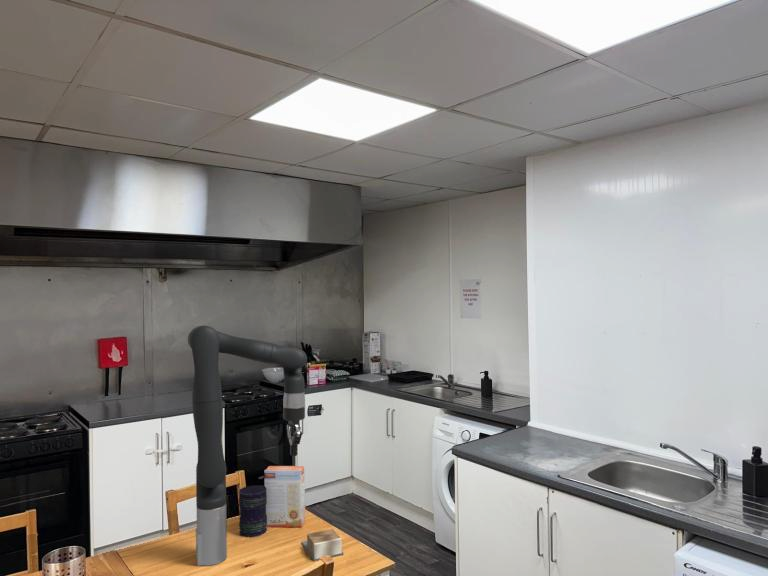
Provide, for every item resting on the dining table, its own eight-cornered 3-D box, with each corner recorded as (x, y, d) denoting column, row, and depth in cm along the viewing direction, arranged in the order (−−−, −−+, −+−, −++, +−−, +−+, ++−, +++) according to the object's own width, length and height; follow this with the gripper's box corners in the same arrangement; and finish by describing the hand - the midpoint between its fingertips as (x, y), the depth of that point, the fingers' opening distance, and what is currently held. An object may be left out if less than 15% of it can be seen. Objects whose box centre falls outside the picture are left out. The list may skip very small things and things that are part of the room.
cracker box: (305, 521, 196) (305, 465, 197) (301, 528, 190) (300, 470, 191) (269, 520, 197) (269, 464, 198) (264, 527, 191) (263, 469, 192)
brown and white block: (307, 547, 173) (315, 559, 165) (307, 533, 173) (314, 544, 165) (332, 542, 177) (341, 553, 168) (332, 528, 177) (341, 539, 169)
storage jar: (239, 527, 191) (238, 486, 192) (266, 524, 194) (266, 483, 195) (239, 539, 182) (238, 496, 182) (267, 535, 184) (267, 492, 185)
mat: (313, 561, 165) (313, 559, 165) (301, 543, 177) (301, 541, 177) (343, 554, 169) (343, 552, 169) (329, 537, 182) (329, 535, 182)
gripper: (279, 403, 186) (278, 452, 185) (288, 409, 174) (287, 461, 173) (299, 401, 189) (299, 449, 189) (309, 407, 177) (309, 459, 176)
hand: (293, 455), depth 181 cm, fingers closed
